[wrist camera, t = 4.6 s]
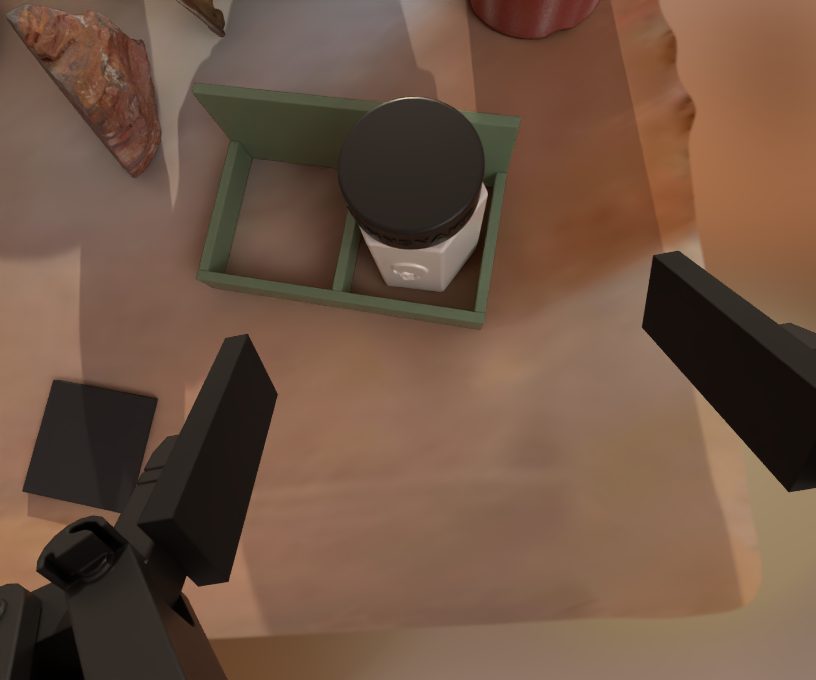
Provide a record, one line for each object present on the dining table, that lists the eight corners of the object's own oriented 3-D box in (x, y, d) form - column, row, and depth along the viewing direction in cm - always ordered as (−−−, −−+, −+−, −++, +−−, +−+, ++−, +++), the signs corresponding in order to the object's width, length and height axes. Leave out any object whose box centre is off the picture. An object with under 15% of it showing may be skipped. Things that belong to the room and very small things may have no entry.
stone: (74, 103, 40) (-46, 4, 30) (145, 45, 41) (49, -71, 31) (149, 197, 38) (46, 125, 28) (224, 136, 38) (148, 43, 29)
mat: (27, 490, 35) (21, 491, 35) (58, 379, 36) (53, 379, 36) (130, 512, 34) (125, 514, 34) (158, 398, 35) (154, 398, 35)
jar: (359, 286, 35) (317, 226, 24) (374, 191, 36) (341, 89, 25) (470, 298, 35) (484, 243, 23) (482, 201, 36) (501, 100, 24)
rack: (212, 287, 36) (148, 255, 29) (245, 148, 38) (193, 81, 30) (480, 329, 34) (491, 307, 26) (504, 179, 36) (520, 116, 28)
